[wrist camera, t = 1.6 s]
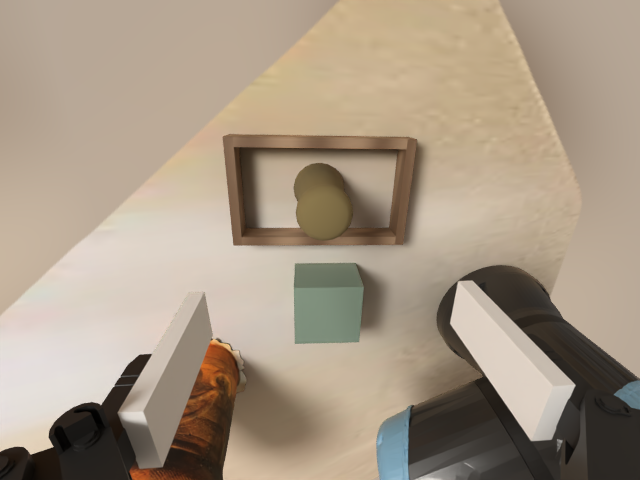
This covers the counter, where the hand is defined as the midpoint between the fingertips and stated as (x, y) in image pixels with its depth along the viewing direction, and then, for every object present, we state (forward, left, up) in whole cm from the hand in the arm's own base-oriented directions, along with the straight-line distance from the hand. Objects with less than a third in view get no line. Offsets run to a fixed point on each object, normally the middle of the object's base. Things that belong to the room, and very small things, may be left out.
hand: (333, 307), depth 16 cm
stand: (-1, +13, -23) cm, 26 cm away
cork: (0, -1, -23) cm, 23 cm away
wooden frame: (0, -1, -23) cm, 23 cm away
